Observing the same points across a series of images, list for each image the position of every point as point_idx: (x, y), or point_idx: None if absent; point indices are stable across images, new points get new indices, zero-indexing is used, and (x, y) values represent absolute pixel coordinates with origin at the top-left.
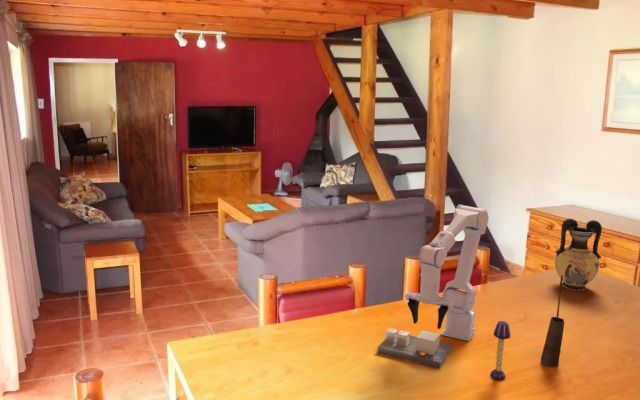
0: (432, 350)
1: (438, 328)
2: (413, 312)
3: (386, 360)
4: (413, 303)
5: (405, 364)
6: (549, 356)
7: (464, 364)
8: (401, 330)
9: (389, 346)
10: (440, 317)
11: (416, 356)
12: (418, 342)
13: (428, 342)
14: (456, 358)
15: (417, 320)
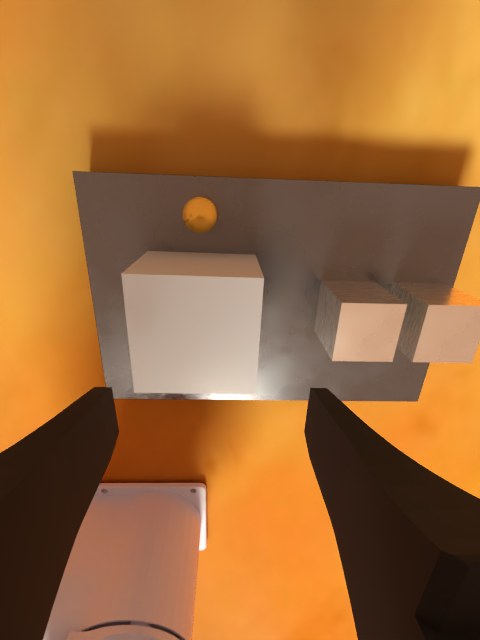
0: (149, 256)
1: (100, 387)
2: (380, 459)
3: (396, 115)
4: (475, 611)
5: (280, 123)
6: None
7: (7, 286)
8: (386, 360)
9: (413, 229)
10: (3, 468)
11: (231, 178)
12: (245, 268)
13: (171, 270)
14: (67, 326)
15: (306, 436)
